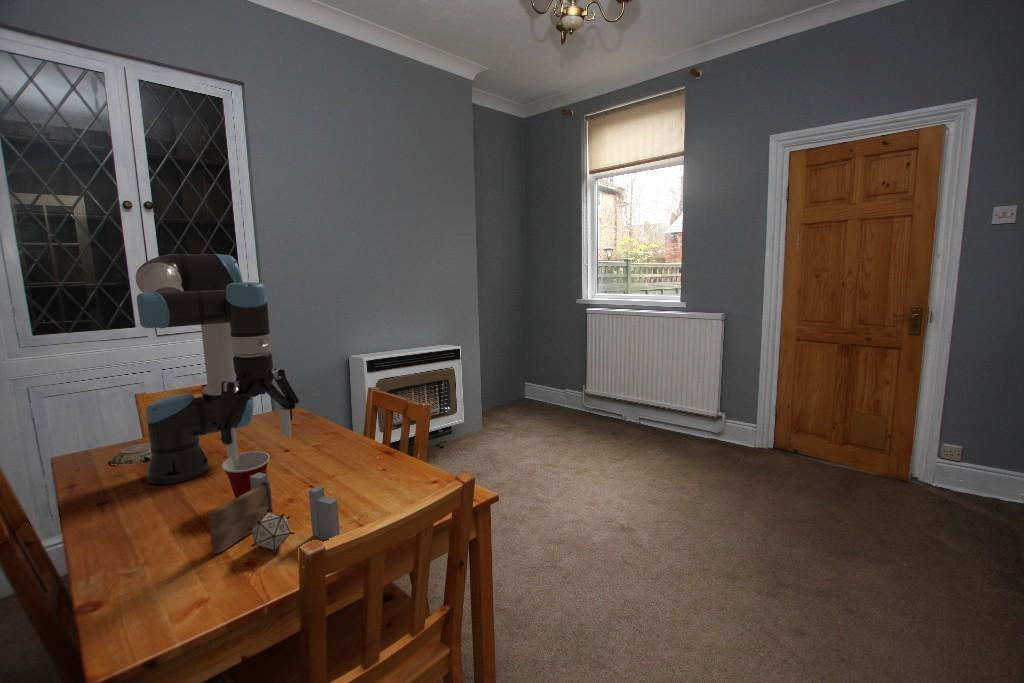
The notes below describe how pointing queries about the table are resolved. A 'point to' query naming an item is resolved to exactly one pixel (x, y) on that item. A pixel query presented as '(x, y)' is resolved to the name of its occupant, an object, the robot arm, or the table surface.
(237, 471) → the plastic cup
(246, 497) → the door
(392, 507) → the table surface
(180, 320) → the robot arm
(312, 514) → the grey upright posts
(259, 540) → the game die
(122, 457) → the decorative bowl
